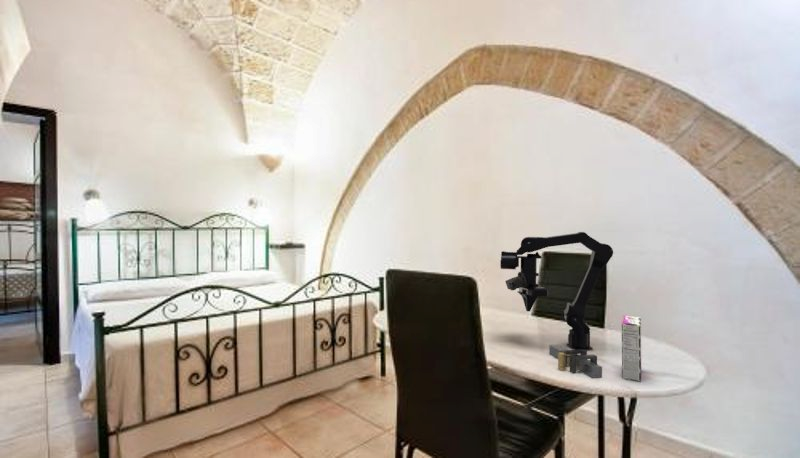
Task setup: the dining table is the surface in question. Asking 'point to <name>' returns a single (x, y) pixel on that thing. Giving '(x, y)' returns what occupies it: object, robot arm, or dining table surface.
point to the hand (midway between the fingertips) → (528, 311)
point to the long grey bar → (579, 363)
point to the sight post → (562, 361)
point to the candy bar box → (631, 348)
